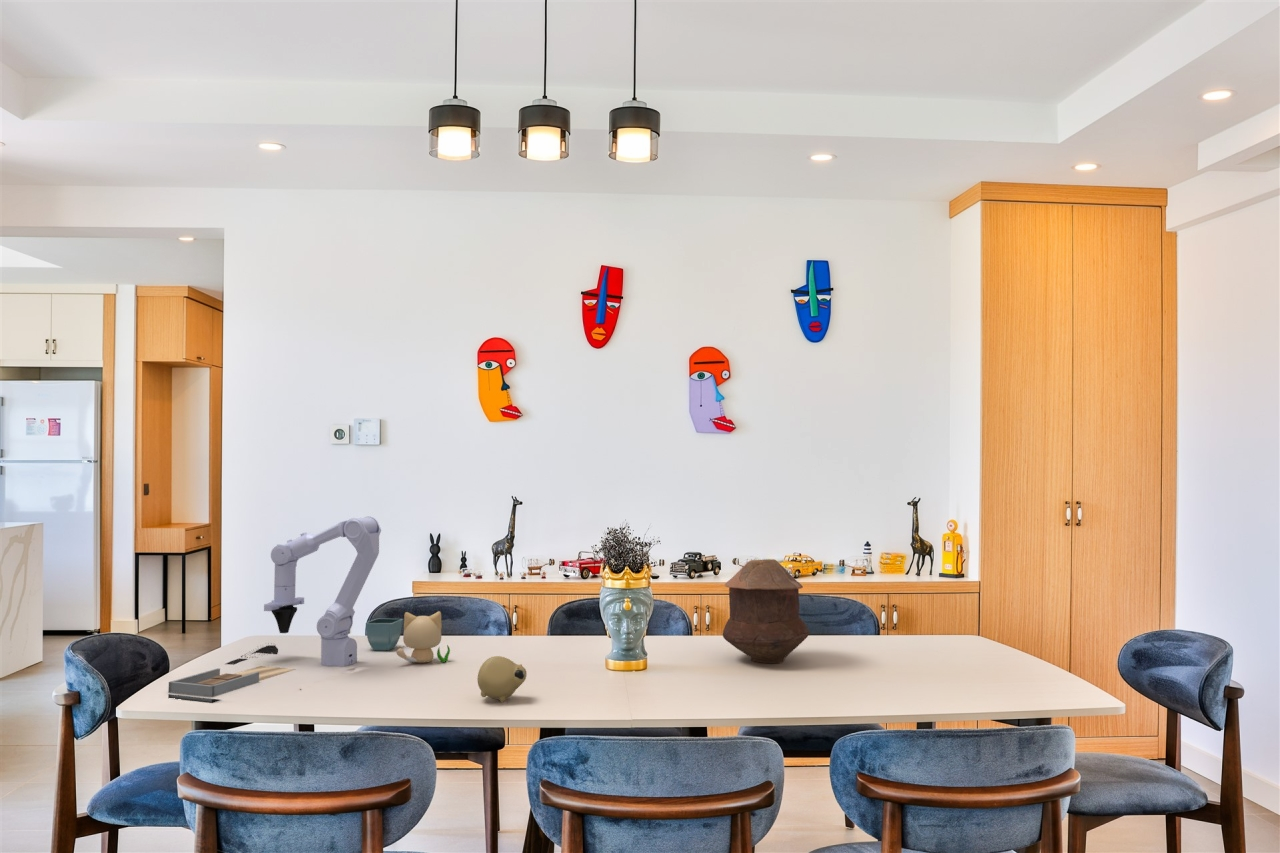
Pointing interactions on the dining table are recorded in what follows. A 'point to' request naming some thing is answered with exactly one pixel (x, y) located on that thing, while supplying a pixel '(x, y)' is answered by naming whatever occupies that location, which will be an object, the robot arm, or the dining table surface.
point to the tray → (208, 686)
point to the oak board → (265, 671)
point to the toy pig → (500, 677)
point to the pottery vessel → (764, 612)
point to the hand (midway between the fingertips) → (284, 632)
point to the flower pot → (383, 633)
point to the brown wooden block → (227, 676)
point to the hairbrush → (267, 650)
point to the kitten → (422, 637)
